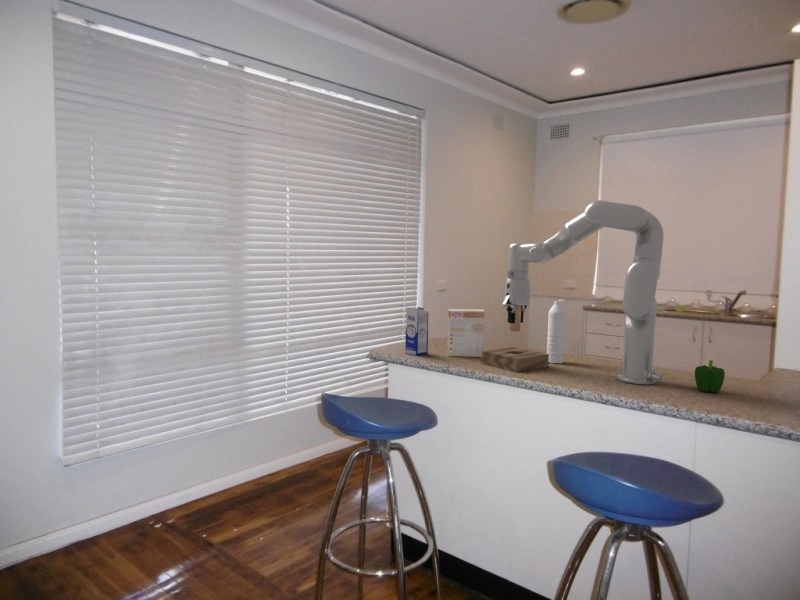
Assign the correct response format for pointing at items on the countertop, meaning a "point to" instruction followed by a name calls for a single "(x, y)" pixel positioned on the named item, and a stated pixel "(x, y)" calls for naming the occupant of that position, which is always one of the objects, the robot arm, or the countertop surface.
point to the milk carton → (416, 331)
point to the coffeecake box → (465, 332)
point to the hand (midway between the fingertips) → (515, 322)
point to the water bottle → (556, 333)
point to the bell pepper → (709, 378)
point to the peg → (516, 319)
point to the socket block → (514, 359)
